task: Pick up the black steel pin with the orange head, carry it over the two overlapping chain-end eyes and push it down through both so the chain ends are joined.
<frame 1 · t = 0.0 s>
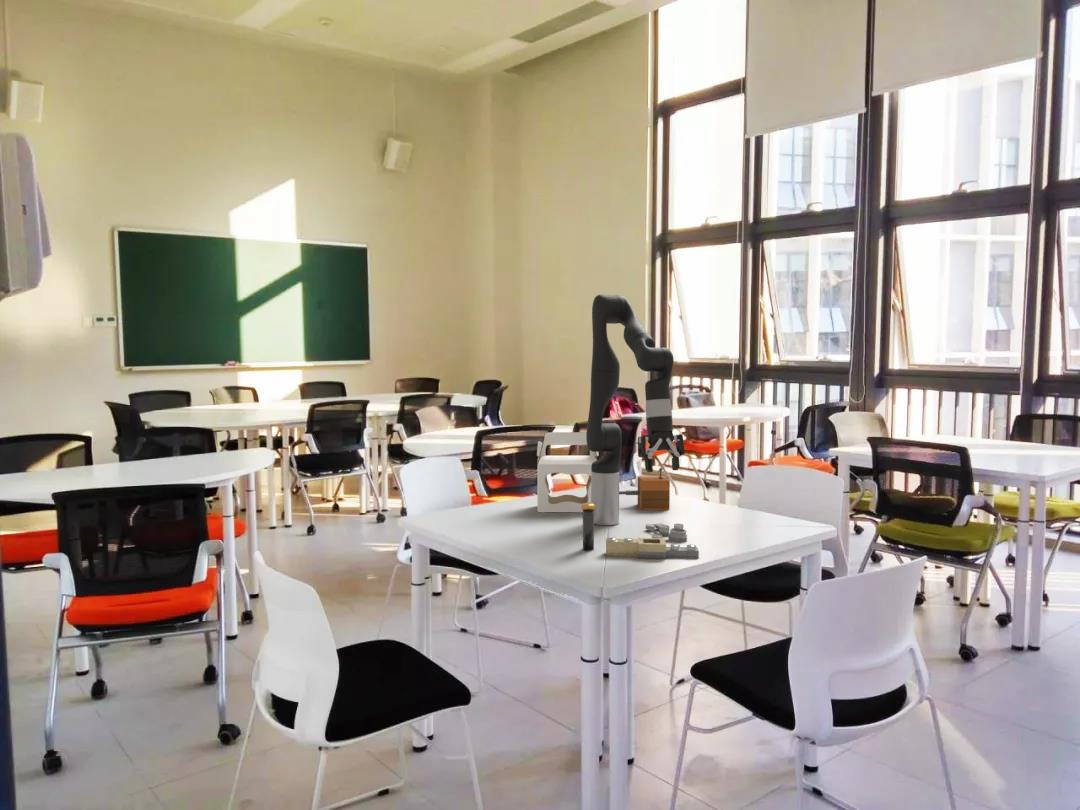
hand: (662, 471, 234), 22 cm above the table, tool pointing down, fingers open, 8 cm apart
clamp: (639, 508, 295), on the table
pulley system: (662, 541, 246), on the table
chain end 2: (651, 555, 227), on the table
pin: (588, 549, 233), on the table
chain end 1: (651, 555, 227), on the table
white open frame: (567, 509, 292), on the table
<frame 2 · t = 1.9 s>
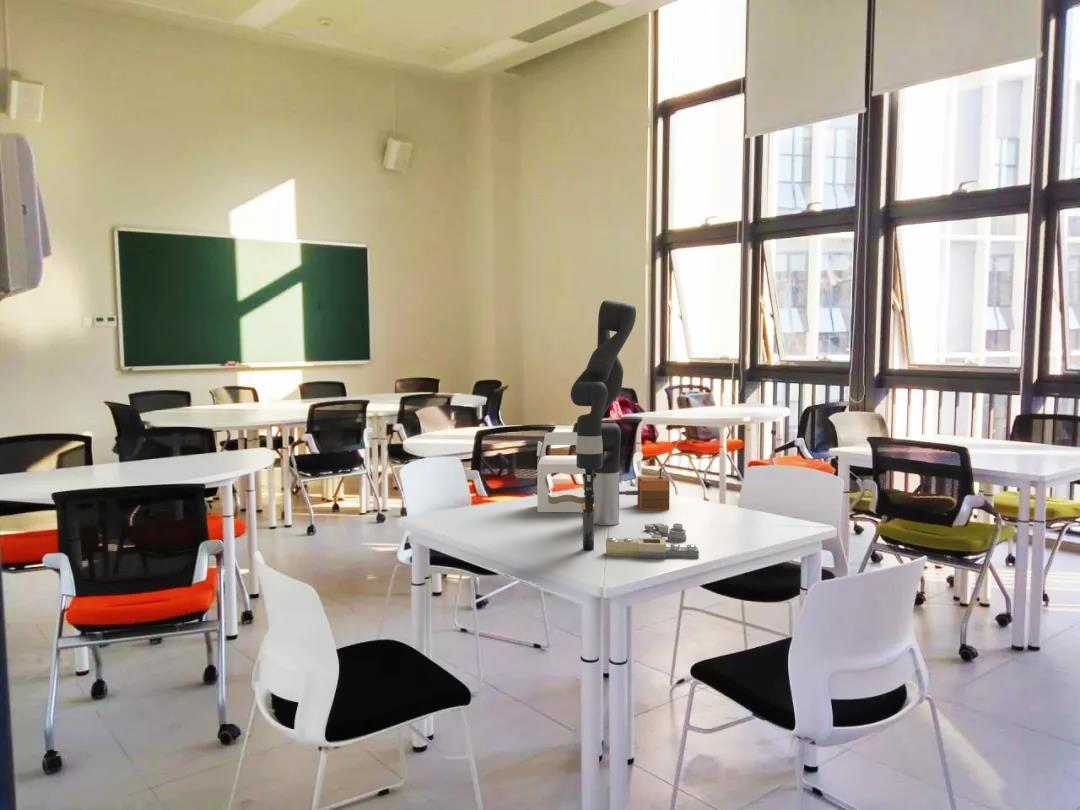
hand: (589, 507, 232), 12 cm above the table, tool pointing down, fingers open, 8 cm apart
nothing on the table moved.
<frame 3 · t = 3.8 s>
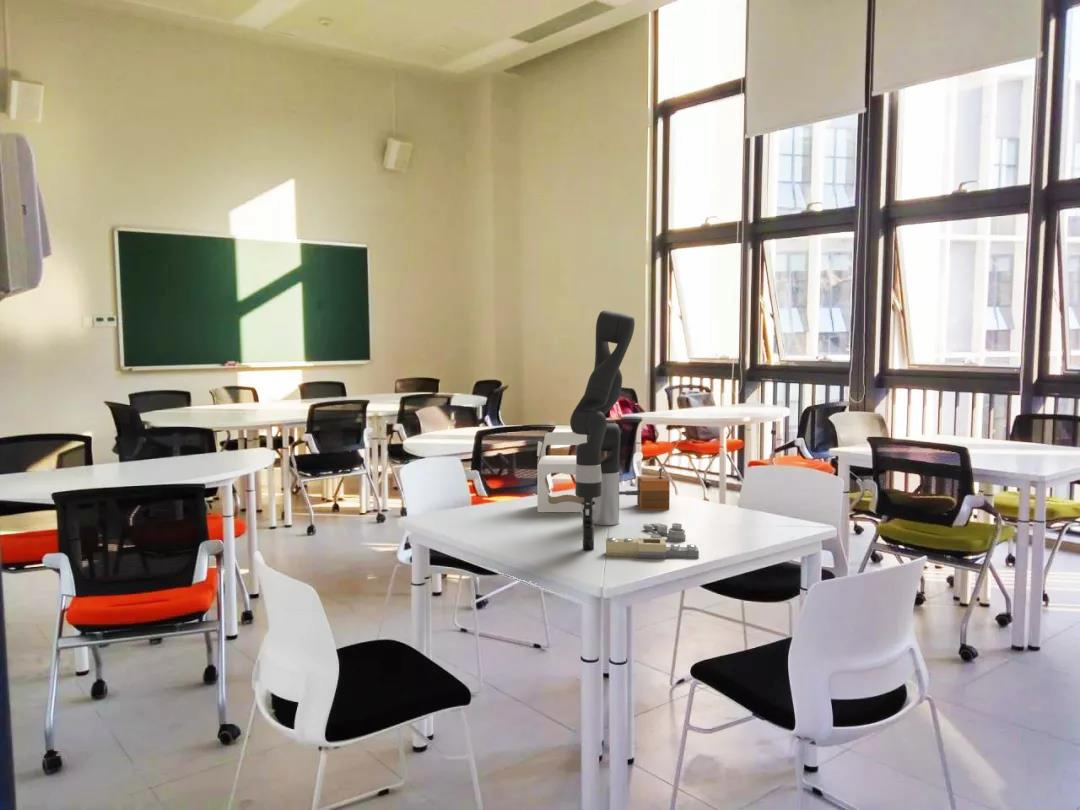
hand: (588, 538, 233), 3 cm above the table, tool pointing down, fingers closed on pin, 3 cm apart
pin: (588, 549, 233), on the table, touching gripper
everything else where it was.
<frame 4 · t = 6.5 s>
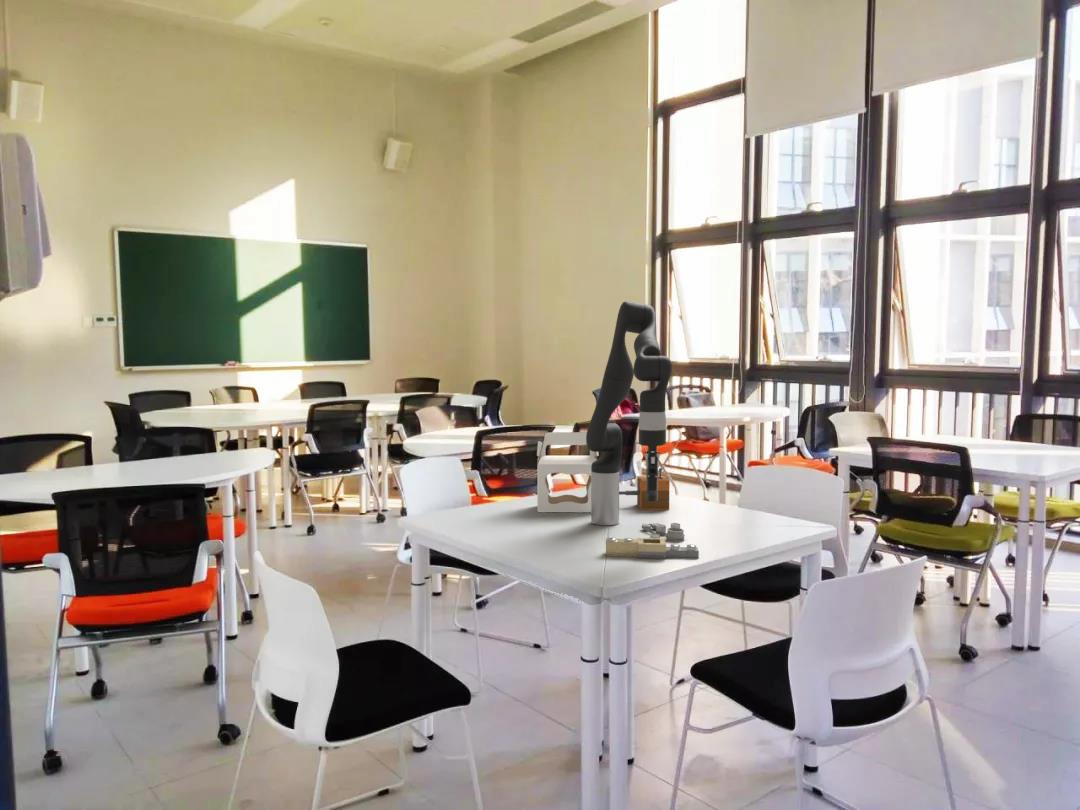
hand: (652, 489, 225), 19 cm above the table, tool pointing down, fingers closed on pin, 3 cm apart
pin: (652, 500, 225), point 16 cm above the table, touching gripper
everything else where it was.
when the fingers open (5 cm above the table, at t = 9.5 s): pin drops 2 cm, resting in chain end 2.
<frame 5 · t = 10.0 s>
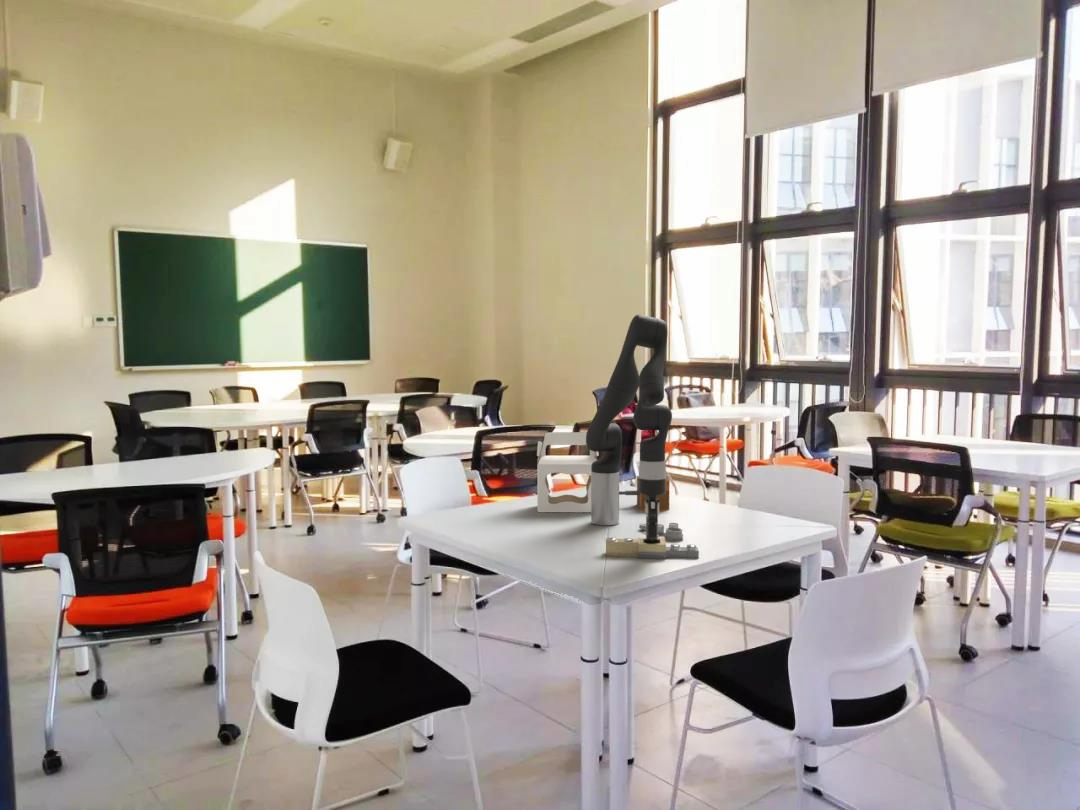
hand: (651, 533, 226), 6 cm above the table, tool pointing down, fingers open, 8 cm apart
pin: (651, 555, 226), resting in chain end 2
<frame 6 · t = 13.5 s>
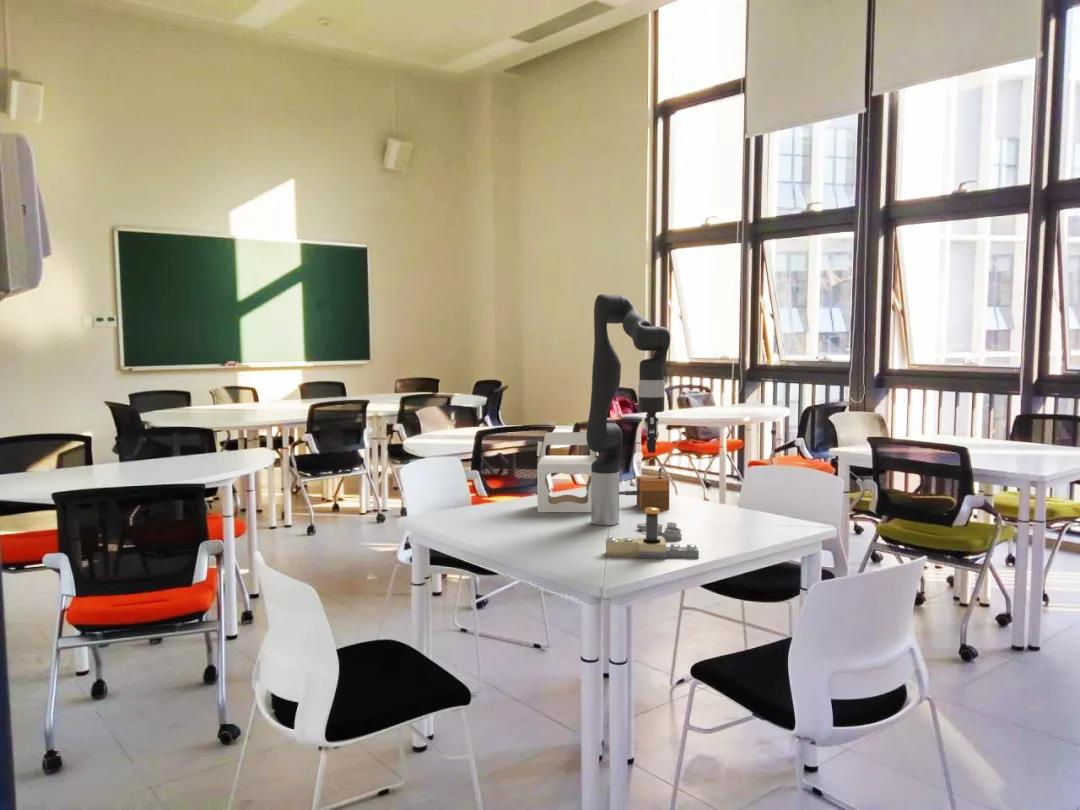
hand: (651, 450, 235), 28 cm above the table, tool pointing down, fingers open, 8 cm apart
at the end: pin 0.0 cm off-centre on the chain end 2, point 0.0 cm above the chain end 2's base; pin tilted 0°; the gripper is holding nothing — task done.
